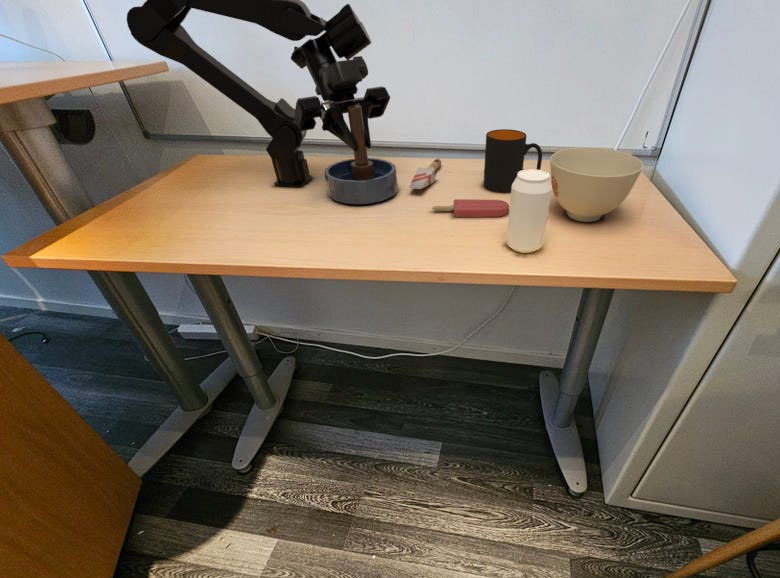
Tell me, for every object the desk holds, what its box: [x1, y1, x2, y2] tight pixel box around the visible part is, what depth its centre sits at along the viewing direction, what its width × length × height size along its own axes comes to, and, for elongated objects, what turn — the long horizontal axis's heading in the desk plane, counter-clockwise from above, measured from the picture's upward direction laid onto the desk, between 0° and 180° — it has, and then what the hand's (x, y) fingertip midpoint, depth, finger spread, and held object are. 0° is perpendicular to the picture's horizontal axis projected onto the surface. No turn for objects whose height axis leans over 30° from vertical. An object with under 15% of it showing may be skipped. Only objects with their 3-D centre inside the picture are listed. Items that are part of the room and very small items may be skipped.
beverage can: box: [506, 168, 553, 254], centre depth 67 cm, size 6×6×12 cm
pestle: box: [347, 105, 375, 180], centre depth 82 cm, size 4×4×14 cm
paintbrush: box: [408, 158, 442, 190], centre depth 94 cm, size 4×3×20 cm
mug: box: [483, 128, 543, 194], centre depth 88 cm, size 8×12×10 cm
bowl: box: [549, 147, 644, 223], centre depth 77 cm, size 16×16×10 cm
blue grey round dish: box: [323, 157, 398, 205], centre depth 88 cm, size 15×15×5 cm
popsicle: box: [432, 198, 510, 218], centre depth 81 cm, size 5×2×15 cm
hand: (363, 148), depth 81 cm, fingers closed on pestle, 2 cm apart
